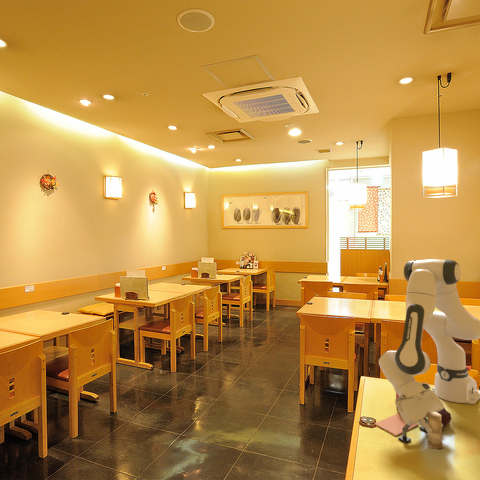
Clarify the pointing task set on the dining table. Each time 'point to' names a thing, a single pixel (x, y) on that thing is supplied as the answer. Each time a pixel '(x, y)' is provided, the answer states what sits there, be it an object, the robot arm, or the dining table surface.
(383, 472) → the dining table surface
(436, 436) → the birch post
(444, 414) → the icecream
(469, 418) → the dining table surface
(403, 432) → the bent metal handle
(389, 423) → the tile
